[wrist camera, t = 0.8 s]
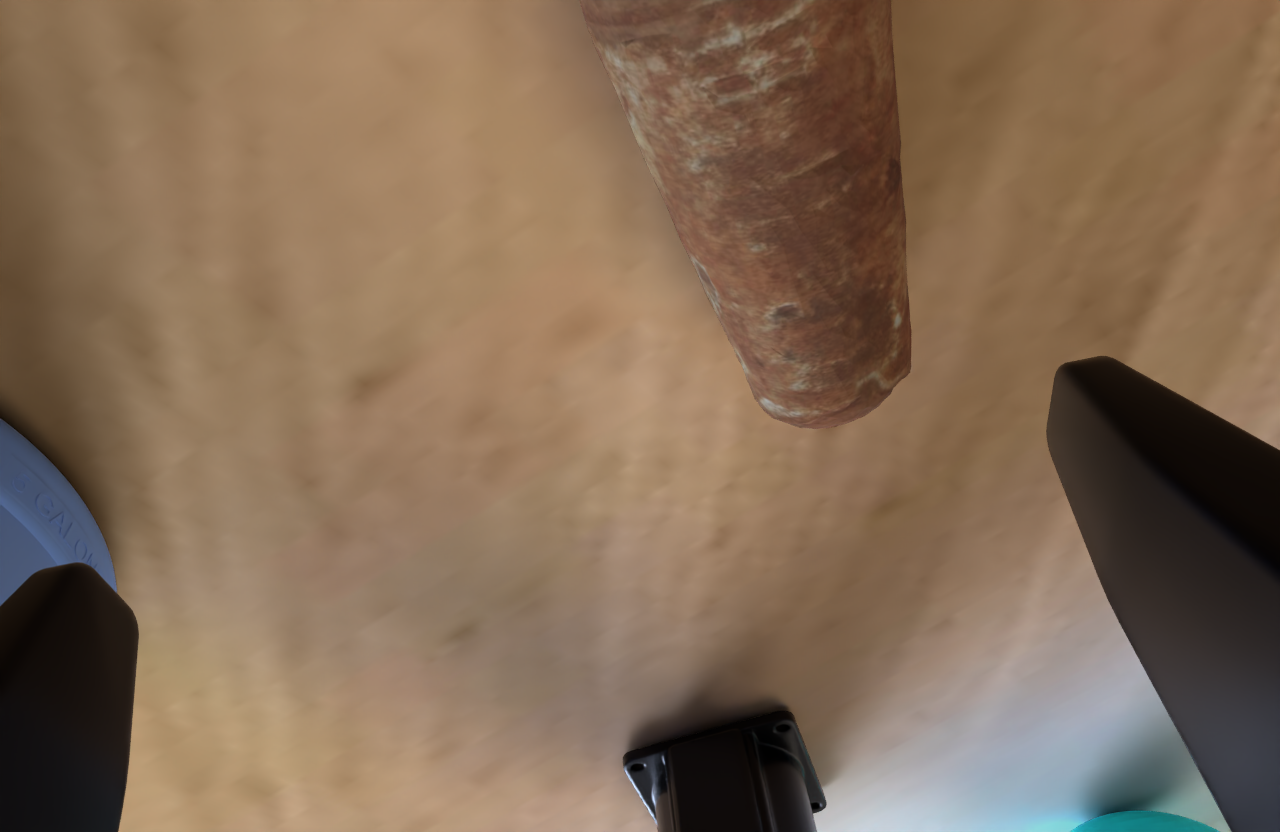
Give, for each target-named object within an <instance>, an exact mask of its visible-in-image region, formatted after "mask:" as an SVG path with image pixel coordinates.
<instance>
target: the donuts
mask: <svg viewBox="0 0 1280 832" xmlns="http://www.w3.org/2000/svg"><path fill="white" fill-rule="evenodd" d="M1070 832H1220V831H1218V830H1216V829H1214V828H1212V827H1210V826H1207V825H1205V824H1203V823H1200V822H1198V821H1195V820H1192V819H1189V818H1186V817H1182V816H1178V815H1174V814H1170V813H1164V812H1157V811H1143V810H1133V811H1122V812H1115V813H1110V814H1106V815H1102V816H1099V817H1096V818H1094V819H1091V820H1089V821H1087V822H1085V823H1083V824H1081V825H1079V826H1078V827H1076V828H1075V829H1073V830H1072V831H1070Z"/></svg>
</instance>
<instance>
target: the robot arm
mask: <svg viewBox="0 0 1280 832" xmlns="http://www.w3.org/2000/svg"><path fill="white" fill-rule="evenodd" d="M1046 432H1047V443H1048V447H1049V451H1050V454H1051V457H1052V460H1053V462H1054V465H1055V467H1056V470H1057V472H1058V475H1059V478H1060V480H1061V483H1062V485H1063V488H1064V490H1065V493H1066V496H1067V498H1068V501H1069V503H1070V506H1071V508H1072V511H1073V514H1074V516H1075V519H1076V521H1077V524H1078V526H1079V529H1080V531H1081V534H1082V537H1083V539H1084V542H1085V544H1086V547H1087V549H1088V552H1089V555H1090V557H1091V560H1092V562H1093V565H1094V567H1095V570H1096V573H1097V575H1098V577H1099V580H1100V582H1101V585H1102V587H1103V589H1104V592H1105V594H1106V596H1107V599H1108V601H1109V603H1110V605H1111V607H1112V609H1113V611H1114V613H1115V615H1116V617H1117V619H1118V621H1119V623H1120V625H1121V626H1122V628H1123V630H1124V632H1125V634H1126V636H1127V638H1128V639H1129V641H1130V643H1131V645H1132V647H1133V649H1134V651H1135V653H1136V654H1137V656H1138V658H1139V660H1140V662H1141V664H1142V666H1143V667H1144V669H1145V671H1146V673H1147V675H1148V677H1149V679H1150V680H1151V682H1152V684H1153V686H1154V688H1155V690H1156V692H1157V694H1158V695H1159V697H1160V699H1161V701H1162V703H1163V705H1164V707H1165V708H1166V710H1167V712H1168V714H1169V716H1170V718H1171V720H1172V722H1173V723H1174V725H1175V727H1176V729H1177V731H1178V733H1179V735H1180V736H1181V738H1182V740H1183V742H1184V744H1185V746H1186V748H1187V749H1188V751H1189V753H1190V755H1191V757H1192V759H1193V761H1194V763H1195V764H1196V766H1197V768H1198V770H1199V772H1200V774H1201V776H1202V777H1203V779H1204V781H1205V783H1206V785H1207V787H1208V789H1209V790H1210V792H1211V794H1212V796H1213V798H1214V800H1215V802H1216V804H1217V805H1218V807H1219V809H1220V811H1221V813H1222V815H1223V817H1224V818H1225V820H1226V822H1227V824H1228V826H1229V828H1230V830H1231V832H1280V450H1278V449H1277V448H1275V447H1273V446H1271V445H1269V444H1268V443H1266V442H1264V441H1262V440H1260V439H1259V438H1257V437H1255V436H1253V435H1251V434H1250V433H1248V432H1246V431H1244V430H1242V429H1240V428H1239V427H1237V426H1235V425H1233V424H1231V423H1230V422H1228V421H1226V420H1224V419H1222V418H1221V417H1219V416H1217V415H1215V414H1213V413H1212V412H1210V411H1208V410H1206V409H1204V408H1203V407H1201V406H1199V405H1197V404H1195V403H1194V402H1192V401H1190V400H1188V399H1186V398H1185V397H1183V396H1181V395H1179V394H1177V393H1176V392H1174V391H1172V390H1170V389H1168V388H1167V387H1165V386H1163V385H1161V384H1159V383H1157V382H1156V381H1154V380H1152V379H1150V378H1148V377H1147V376H1145V375H1143V374H1141V373H1139V372H1138V371H1136V370H1134V369H1132V368H1130V367H1129V366H1127V365H1125V364H1123V363H1121V362H1120V361H1118V360H1116V359H1114V358H1111V357H1108V356H1097V357H1092V358H1087V359H1082V360H1077V361H1072V362H1067V363H1064V364H1063V365H1061V366H1060V367H1059V368H1058V370H1057V371H1056V374H1055V378H1054V383H1053V390H1052V396H1051V402H1050V409H1049V415H1048V422H1047V430H1046ZM138 639H139V631H138V624H137V620H136V617H135V615H134V613H133V611H132V610H131V608H130V607H129V606H128V605H127V604H126V603H125V601H124V600H123V599H122V598H121V597H120V596H119V595H118V594H117V593H116V592H115V591H114V590H113V589H112V587H111V586H110V585H109V584H108V583H107V582H106V581H105V580H104V579H103V578H102V577H101V576H100V575H99V573H98V572H97V571H96V570H95V569H94V568H92V567H91V566H90V565H87V564H85V563H82V562H74V563H69V564H64V565H59V566H54V567H49V568H45V569H42V570H39V571H37V572H35V573H34V574H32V575H31V576H30V577H29V578H28V579H27V580H26V581H25V582H24V583H23V584H22V585H21V586H20V587H19V588H18V589H17V590H16V591H15V592H14V593H13V594H12V595H11V596H10V597H9V598H8V599H7V600H6V601H5V602H4V603H3V604H2V605H1V606H0V832H118V830H119V825H120V819H121V814H122V808H123V802H124V796H125V790H126V783H127V774H128V765H129V755H130V742H131V729H132V716H133V703H134V690H135V677H136V664H137V652H138ZM623 766H624V771H625V773H626V774H627V776H628V778H629V779H630V781H631V783H632V784H633V786H634V788H635V789H636V791H637V793H638V794H639V796H640V798H641V799H642V801H643V802H644V804H645V806H646V807H647V809H648V811H649V812H650V814H651V816H652V817H653V819H654V821H655V822H656V824H657V829H658V832H817V830H816V825H815V821H814V817H813V813H817V812H819V811H822V810H823V809H824V808H825V807H826V800H825V796H824V793H823V790H822V787H821V785H820V782H819V780H818V777H817V774H816V772H815V769H814V767H813V764H812V762H811V759H810V756H809V754H808V751H807V749H806V746H805V743H804V741H803V738H802V736H801V733H800V730H799V728H798V725H797V723H796V720H795V717H794V715H793V714H792V713H791V712H789V711H777V712H773V713H770V714H766V715H762V716H758V717H755V718H751V719H747V720H744V721H740V722H736V723H732V724H729V725H725V726H721V727H718V728H714V729H710V730H706V731H703V732H699V733H695V734H692V735H688V736H684V737H680V738H677V739H673V740H669V741H666V742H662V743H658V744H654V745H651V746H647V747H643V748H639V749H636V750H632V751H630V752H627V753H626V754H625V755H624V757H623Z"/></svg>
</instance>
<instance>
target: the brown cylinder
mask: <svg viewBox="0 0 1280 832" xmlns="http://www.w3.org/2000/svg"><path fill="white" fill-rule="evenodd" d="M579 1H580V4H581V7H582V11H583V14H584V17H585V21H586V24H587V28H588V30H589V32H590V34H591V36H592V40H593V44H594V46H595V48H596V50H597V52H598V54H599V56H600V59H601V61H602V63H603V65H604V67H605V69H606V71H607V73H608V75H609V77H610V79H611V81H612V83H613V86H614V88H615V91H616V93H617V95H618V98H619V100H620V103H621V105H622V107H623V110H624V112H625V114H626V117H627V119H628V122H629V124H630V126H631V129H632V131H633V133H634V136H635V138H636V141H637V143H638V145H639V147H640V150H641V152H642V154H643V157H644V159H645V161H646V163H647V166H648V168H649V170H650V172H651V174H652V176H653V179H654V181H655V183H656V185H657V187H658V189H659V191H660V193H661V195H662V197H663V199H664V201H665V204H666V206H667V208H668V211H669V213H670V215H671V217H672V220H673V222H674V225H675V227H676V230H677V232H678V234H679V237H680V239H681V241H682V243H683V245H684V247H685V249H686V251H687V254H688V256H689V258H690V260H691V262H692V264H693V265H694V267H695V269H696V271H697V274H698V276H699V279H700V281H701V283H702V286H703V288H704V290H705V293H706V295H707V297H708V299H709V301H710V303H711V305H712V306H713V308H714V310H715V312H716V314H717V316H718V318H719V321H720V323H721V325H722V327H723V329H724V331H725V333H726V335H727V337H728V340H729V341H730V343H731V345H732V347H733V349H734V351H735V353H736V356H737V358H738V360H739V361H740V363H741V365H742V367H743V369H744V372H745V375H746V378H747V381H748V383H749V386H750V388H751V390H752V393H753V395H754V398H755V400H756V401H757V402H758V404H759V405H760V406H761V408H762V409H763V410H764V411H765V412H766V413H767V414H768V415H770V416H771V417H772V418H774V419H777V420H779V421H782V422H785V423H788V424H791V425H794V426H797V427H800V428H812V429H820V428H830V427H836V426H839V425H843V424H846V423H849V422H851V421H854V420H856V419H858V418H861V417H863V416H865V415H867V414H868V413H870V412H871V411H872V410H874V409H875V408H877V407H878V406H879V405H880V404H881V403H882V402H883V400H884V399H886V398H887V397H888V396H889V395H890V394H891V392H892V390H893V388H894V387H895V386H896V385H897V384H898V383H899V382H900V381H901V379H903V378H905V377H906V376H907V375H908V374H909V373H910V370H911V324H910V311H909V297H908V286H907V268H906V217H905V208H904V198H903V188H902V175H901V165H900V147H901V140H900V128H899V116H898V104H897V93H896V81H895V67H894V54H893V38H892V16H891V0H579Z"/></svg>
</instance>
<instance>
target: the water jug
mask: <svg viewBox="0 0 1280 832" xmlns="http://www.w3.org/2000/svg"><path fill="white" fill-rule="evenodd" d="M74 562H82V563H85V564H87V565H90V566H91V567H92V568H94V569H95V570H96V571H97V572H98V573H99V575H100V576H101V577H102V578H103V579H104V580H105V581H106V582H107V583H108V584H109V585H110V586H111V587H112V589H113V590H114V591H115V592H116V593H117V587H116V579H115V573H114V568H113V564H112V560H111V557H110V554H109V551H108V548H107V545H106V543H105V540H104V538H103V535H102V533H101V531H100V529H99V527H98V525H97V523H96V521H95V519H94V518H93V516H92V514H91V513H90V511H89V509H88V508H87V506H86V505H85V503H84V502H83V500H82V499H81V497H80V496H79V495H78V493H77V492H76V491H75V489H74V488H73V487H72V485H71V484H70V483H69V482H68V480H67V479H66V478H65V477H64V476H63V475H62V473H61V472H60V471H59V470H58V469H57V468H56V467H55V466H54V465H53V464H52V463H51V462H50V461H49V460H48V459H47V458H46V457H45V456H44V455H43V454H42V453H41V452H40V451H39V450H38V449H37V448H36V447H35V446H34V445H33V444H32V443H30V442H29V441H28V440H27V439H26V438H25V437H23V436H22V435H21V434H20V433H19V432H17V431H16V430H15V429H14V428H12V427H11V426H10V425H9V424H7V423H6V422H5V421H3V420H2V419H1V418H0V606H1V605H2V604H3V603H4V602H5V601H6V600H7V599H8V598H9V597H10V596H11V595H12V594H13V593H14V592H15V591H16V590H17V589H18V588H19V587H20V586H21V585H22V584H23V583H24V582H25V581H26V580H27V579H28V578H29V577H30V576H31V575H32V574H34V573H35V572H37V571H39V570H42V569H45V568H49V567H54V566H59V565H64V564H69V563H74Z"/></svg>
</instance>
